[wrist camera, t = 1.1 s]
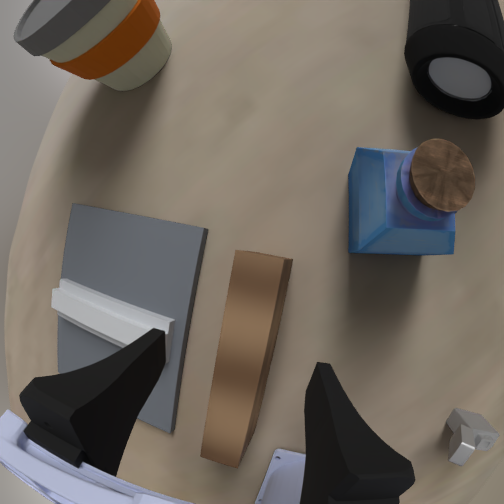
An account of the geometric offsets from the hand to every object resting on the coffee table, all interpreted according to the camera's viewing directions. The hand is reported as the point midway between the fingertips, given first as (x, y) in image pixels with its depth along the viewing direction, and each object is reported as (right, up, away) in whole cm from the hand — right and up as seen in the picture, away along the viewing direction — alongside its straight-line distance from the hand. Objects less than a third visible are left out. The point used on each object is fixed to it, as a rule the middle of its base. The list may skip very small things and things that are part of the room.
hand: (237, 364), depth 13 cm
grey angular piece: (+19, -10, +7) cm, 23 cm away
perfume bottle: (+11, +8, +9) cm, 16 cm away
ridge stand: (-13, -1, +14) cm, 19 cm away
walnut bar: (+1, -3, +11) cm, 11 cm away
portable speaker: (+22, +29, +7) cm, 37 cm away
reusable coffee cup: (-13, +28, +15) cm, 34 cm away
